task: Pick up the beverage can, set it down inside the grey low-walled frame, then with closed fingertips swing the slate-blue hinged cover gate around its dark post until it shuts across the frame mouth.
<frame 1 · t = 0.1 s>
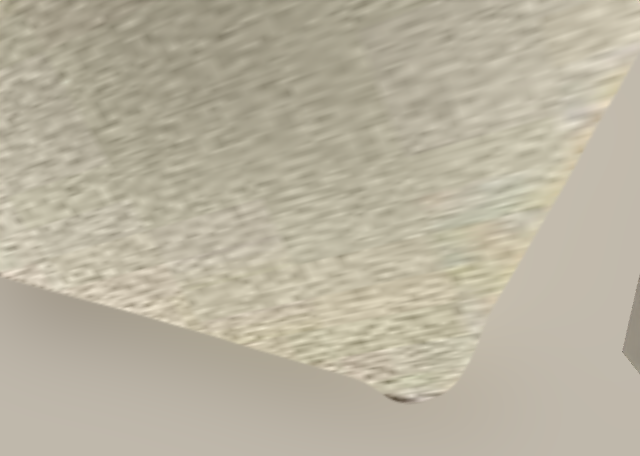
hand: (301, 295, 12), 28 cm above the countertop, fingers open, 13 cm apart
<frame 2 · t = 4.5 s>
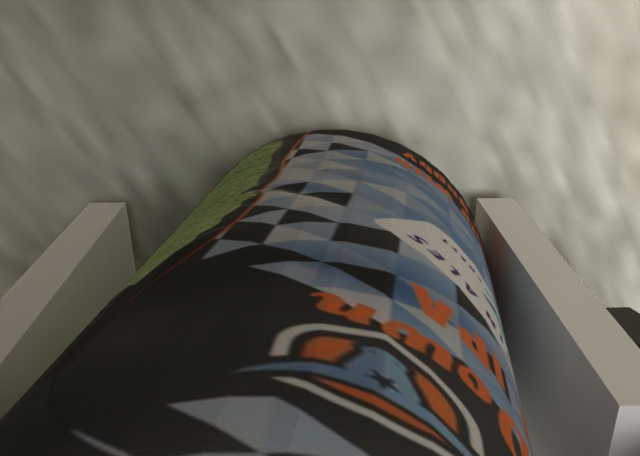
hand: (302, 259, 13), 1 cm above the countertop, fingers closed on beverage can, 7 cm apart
beverage can: (303, 242, 14), on the countertop, touching gripper
when the fingers open (3 cm above the countertop, at t = 9.5 s): beverage can drops 2 cm, resting in grey low-walled frame.
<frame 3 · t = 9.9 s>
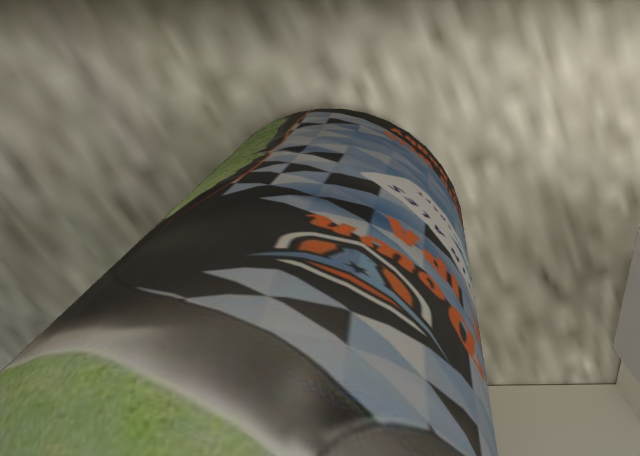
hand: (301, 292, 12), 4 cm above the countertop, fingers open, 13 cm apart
grey low-walled frame: (343, 212, 16), on the countertop
beverage can: (305, 212, 16), resting in grey low-walled frame
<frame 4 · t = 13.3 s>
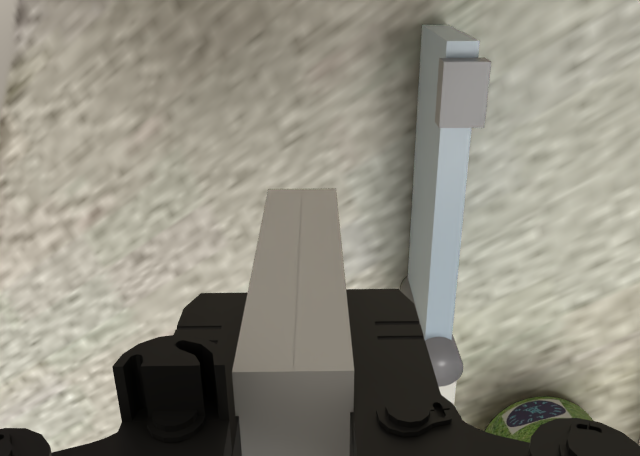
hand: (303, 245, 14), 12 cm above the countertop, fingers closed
beverage can: (533, 421, 32), resting in grey low-walled frame
cover gate: (437, 203, 23), point 3 cm above the countertop, hinge at 90.0°
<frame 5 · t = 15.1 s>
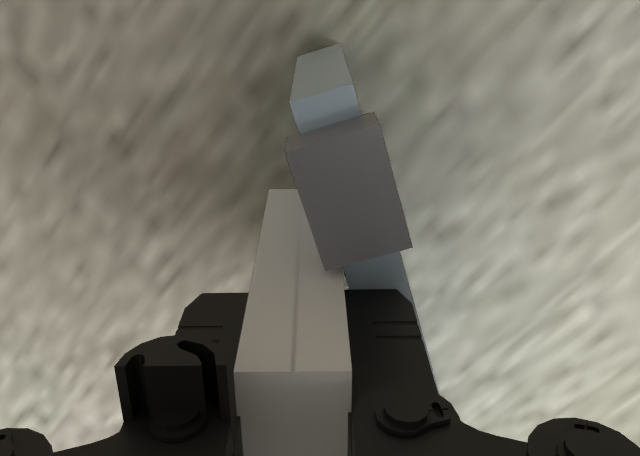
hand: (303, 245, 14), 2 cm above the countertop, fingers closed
cover gate: (400, 343, 14), point 3 cm above the countertop, hinge at 89.8°, touching gripper
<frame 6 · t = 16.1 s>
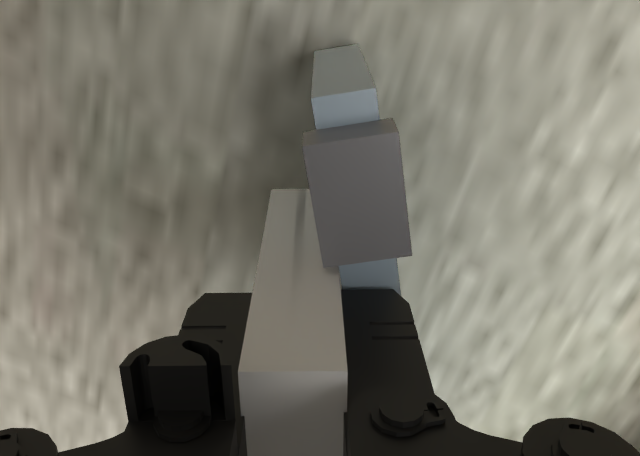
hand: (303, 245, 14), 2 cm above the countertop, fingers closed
cover gate: (379, 346, 14), point 3 cm above the countertop, hinge at 55.7°, touching gripper
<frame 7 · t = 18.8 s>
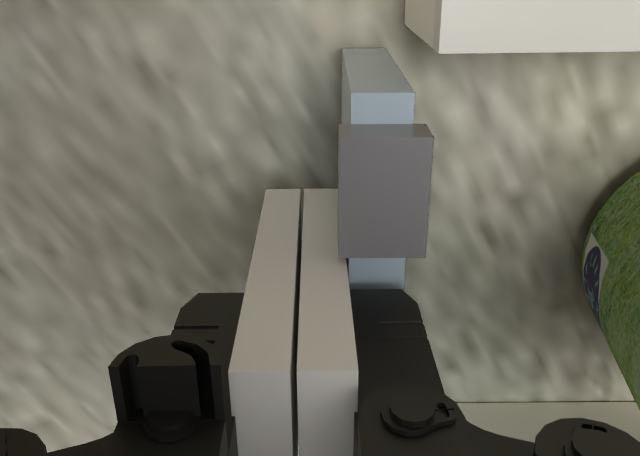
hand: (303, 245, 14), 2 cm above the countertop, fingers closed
cover gate: (365, 343, 14), point 3 cm above the countertop, hinge at -0.3°
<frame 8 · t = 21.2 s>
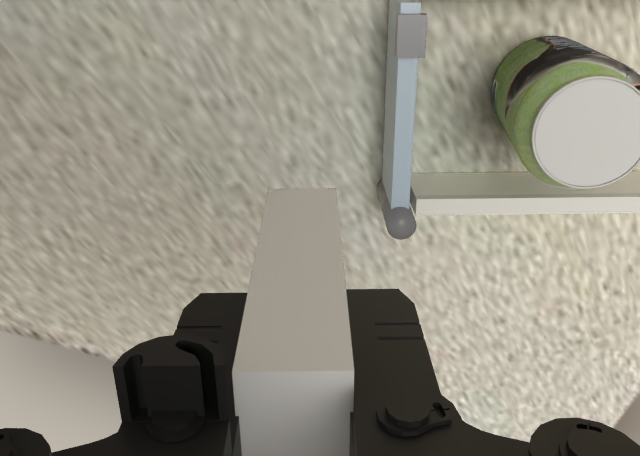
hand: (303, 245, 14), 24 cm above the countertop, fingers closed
grey low-walled frame: (543, 84, 37), on the countertop
beverage can: (525, 84, 37), resting in grey low-walled frame
cover gate: (399, 117, 34), point 3 cm above the countertop, hinge at -0.3°
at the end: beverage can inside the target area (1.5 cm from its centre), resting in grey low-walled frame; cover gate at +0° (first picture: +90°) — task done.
